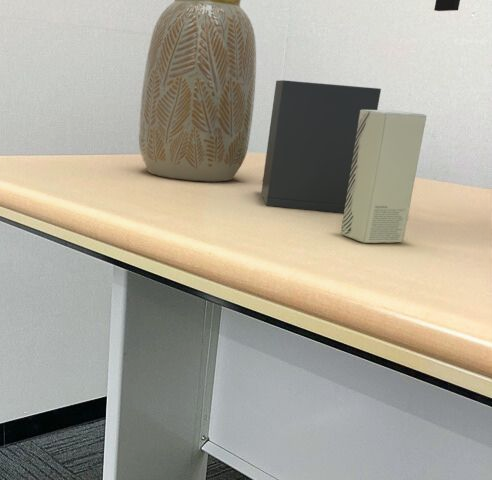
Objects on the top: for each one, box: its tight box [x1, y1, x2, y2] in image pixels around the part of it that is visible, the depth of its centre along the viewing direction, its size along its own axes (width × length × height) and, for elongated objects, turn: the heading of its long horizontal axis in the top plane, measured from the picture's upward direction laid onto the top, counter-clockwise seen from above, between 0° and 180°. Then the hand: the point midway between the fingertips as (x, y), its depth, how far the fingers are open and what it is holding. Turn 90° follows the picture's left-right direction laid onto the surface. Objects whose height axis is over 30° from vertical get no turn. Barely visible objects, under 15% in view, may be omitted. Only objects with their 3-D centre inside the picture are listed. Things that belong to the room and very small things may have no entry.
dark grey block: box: [260, 79, 382, 214], centre depth 98 cm, size 12×12×15 cm
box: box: [340, 109, 427, 244], centre depth 76 cm, size 5×4×13 cm
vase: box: [138, 0, 257, 183], centre depth 114 cm, size 17×17×27 cm
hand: (403, 3), depth 81 cm, fingers open, 13 cm apart
